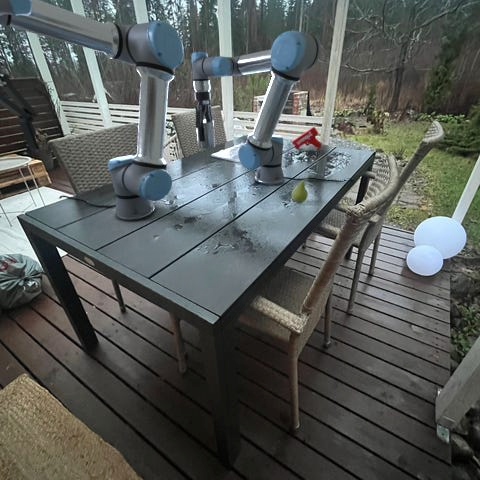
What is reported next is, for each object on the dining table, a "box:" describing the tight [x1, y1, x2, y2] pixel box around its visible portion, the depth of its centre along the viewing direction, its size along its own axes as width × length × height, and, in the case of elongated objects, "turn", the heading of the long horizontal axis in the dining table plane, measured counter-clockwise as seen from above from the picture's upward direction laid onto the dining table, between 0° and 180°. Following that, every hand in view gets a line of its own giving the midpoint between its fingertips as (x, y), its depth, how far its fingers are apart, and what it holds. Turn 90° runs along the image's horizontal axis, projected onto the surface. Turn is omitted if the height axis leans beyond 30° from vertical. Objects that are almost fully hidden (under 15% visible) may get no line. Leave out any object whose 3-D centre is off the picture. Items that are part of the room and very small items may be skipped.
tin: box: [196, 119, 216, 150], centre depth 142 cm, size 9×9×13 cm
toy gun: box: [291, 126, 323, 149], centre depth 197 cm, size 18×4×15 cm
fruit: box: [291, 174, 311, 204], centre depth 118 cm, size 7×8×12 cm
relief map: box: [210, 141, 246, 163], centre depth 182 cm, size 27×35×5 cm
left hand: (7, 155), depth 65 cm, fingers open, 13 cm apart
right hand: (206, 139), depth 143 cm, fingers closed on tin, 9 cm apart
